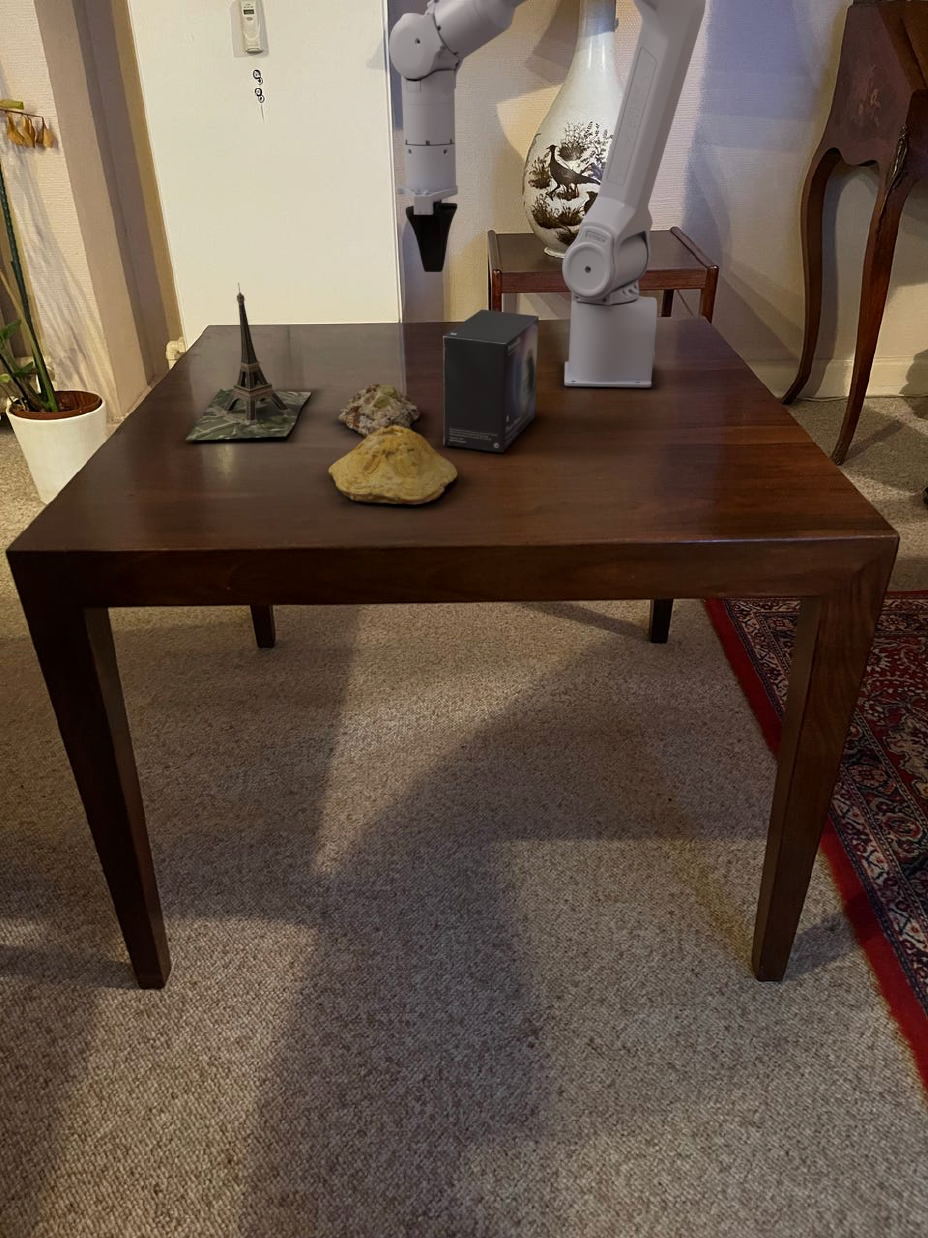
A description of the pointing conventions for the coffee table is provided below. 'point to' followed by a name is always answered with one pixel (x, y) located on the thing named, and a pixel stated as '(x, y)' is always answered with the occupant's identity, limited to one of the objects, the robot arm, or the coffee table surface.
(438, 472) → the fossil
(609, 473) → the coffee table surface
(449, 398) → the small box
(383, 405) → the mineral rock
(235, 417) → the eiffel tower figurine
